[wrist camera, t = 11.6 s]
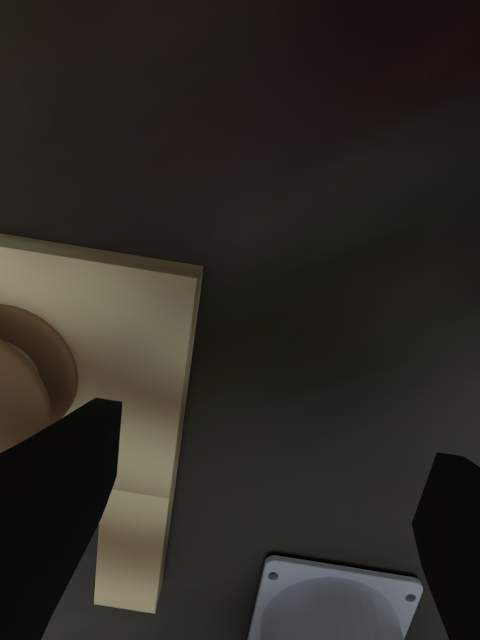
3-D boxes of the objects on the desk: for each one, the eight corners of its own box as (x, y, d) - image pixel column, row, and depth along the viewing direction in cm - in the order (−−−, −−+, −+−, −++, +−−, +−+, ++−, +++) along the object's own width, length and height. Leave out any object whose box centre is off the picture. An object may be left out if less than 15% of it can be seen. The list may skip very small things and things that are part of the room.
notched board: (163, 578, 24) (139, 679, 20) (-100, 536, 24) (-187, 627, 20) (203, 266, 19) (183, 302, 14) (-139, 210, 19) (-276, 228, 14)
